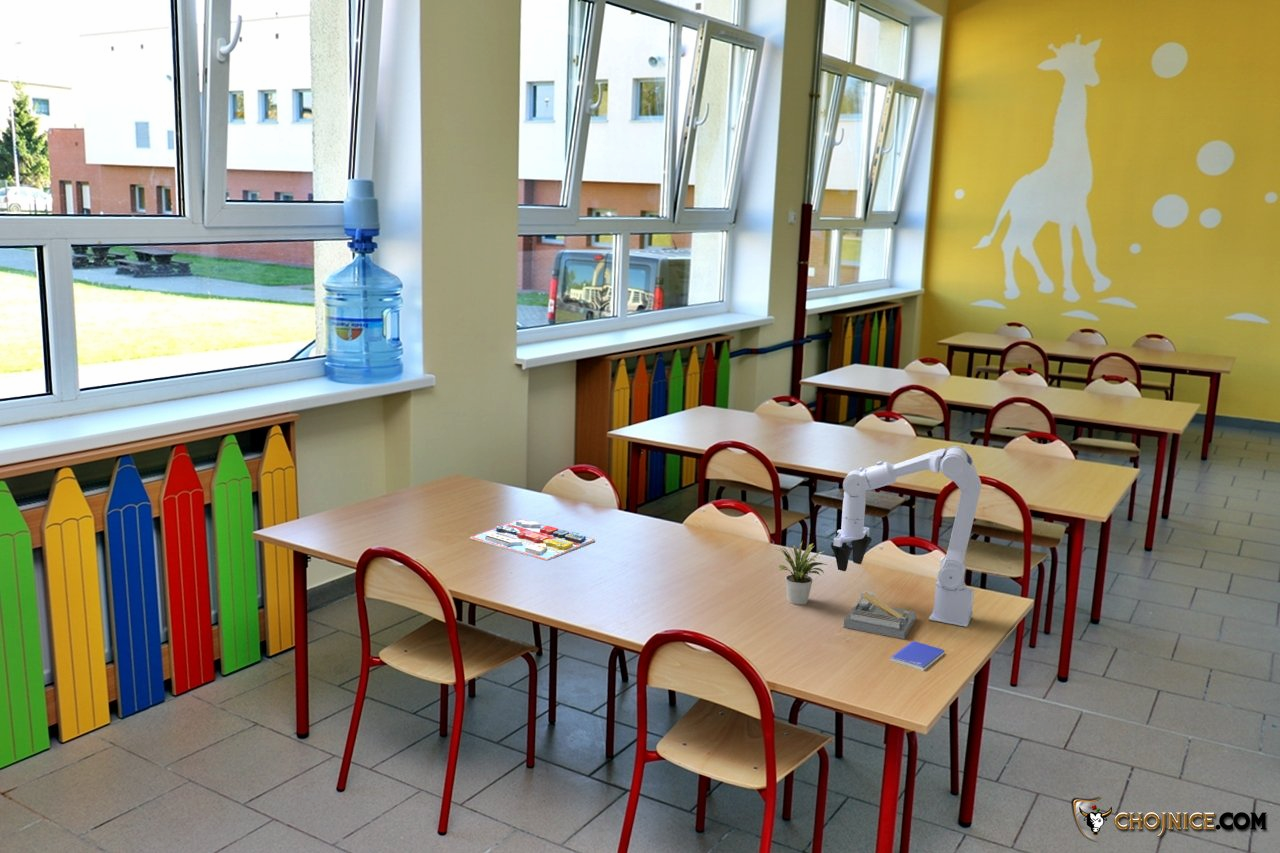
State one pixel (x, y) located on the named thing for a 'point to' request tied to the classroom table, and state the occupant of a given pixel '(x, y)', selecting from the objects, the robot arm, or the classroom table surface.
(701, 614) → the classroom table surface
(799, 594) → the house plant
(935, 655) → the hard drive
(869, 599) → the tan rectangular plate
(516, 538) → the puzzle board
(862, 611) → the grey slotted fixture base
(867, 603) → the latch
